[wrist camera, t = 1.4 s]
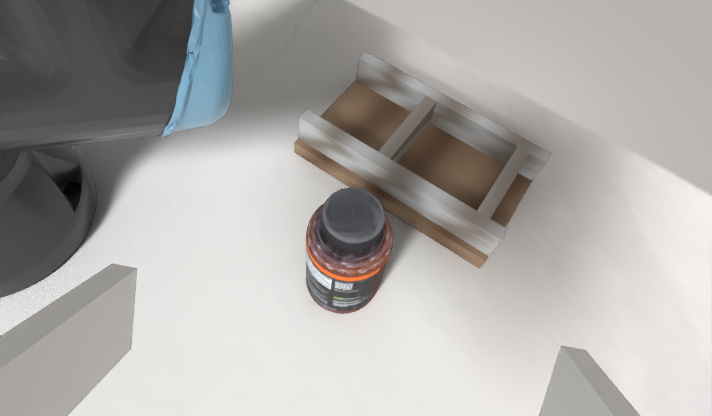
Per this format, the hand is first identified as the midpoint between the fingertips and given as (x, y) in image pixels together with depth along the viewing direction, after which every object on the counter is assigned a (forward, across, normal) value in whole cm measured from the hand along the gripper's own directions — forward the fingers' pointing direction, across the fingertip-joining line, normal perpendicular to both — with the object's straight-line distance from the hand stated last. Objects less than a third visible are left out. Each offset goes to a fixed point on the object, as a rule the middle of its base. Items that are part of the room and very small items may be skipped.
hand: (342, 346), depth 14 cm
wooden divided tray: (+33, +5, +2) cm, 33 cm away
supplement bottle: (+24, 0, -8) cm, 25 cm away
